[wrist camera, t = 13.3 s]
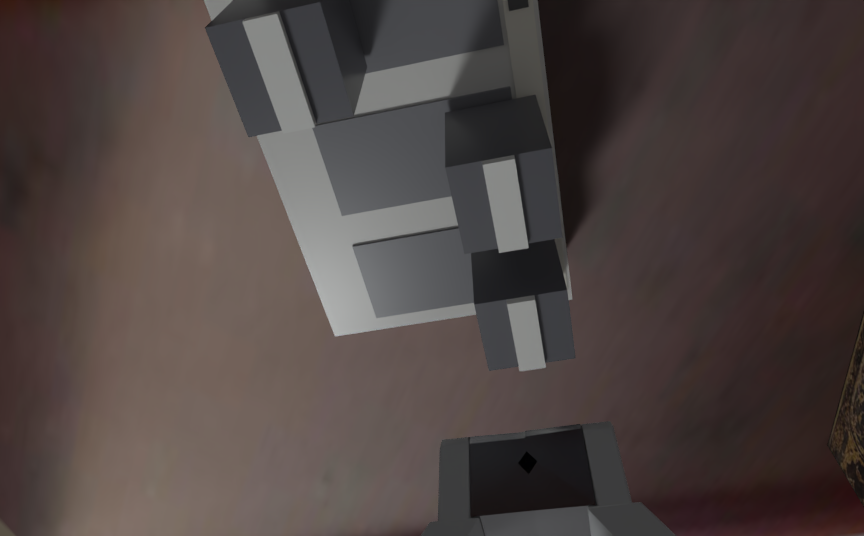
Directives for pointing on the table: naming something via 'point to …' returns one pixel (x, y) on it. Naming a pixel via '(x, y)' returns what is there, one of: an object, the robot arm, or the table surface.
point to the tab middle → (501, 175)
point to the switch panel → (403, 158)
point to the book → (851, 421)
